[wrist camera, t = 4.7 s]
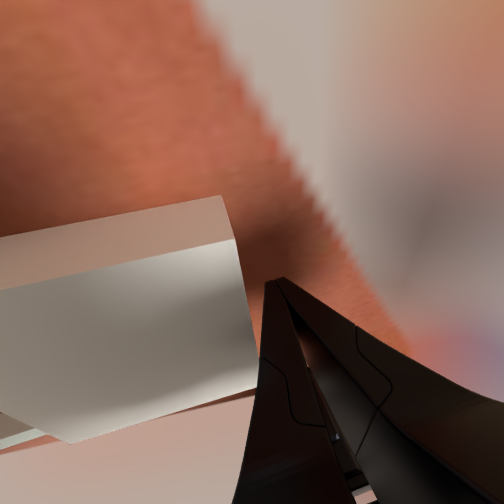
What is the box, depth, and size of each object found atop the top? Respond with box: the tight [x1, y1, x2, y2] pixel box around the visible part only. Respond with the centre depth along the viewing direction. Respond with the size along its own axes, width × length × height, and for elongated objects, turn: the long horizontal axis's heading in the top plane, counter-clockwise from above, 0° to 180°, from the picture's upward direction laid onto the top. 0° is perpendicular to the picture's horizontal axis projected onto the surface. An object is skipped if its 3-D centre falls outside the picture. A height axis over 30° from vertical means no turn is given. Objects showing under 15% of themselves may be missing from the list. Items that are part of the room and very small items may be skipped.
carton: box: [0, 195, 259, 444], centre depth 8 cm, size 8×8×4 cm
